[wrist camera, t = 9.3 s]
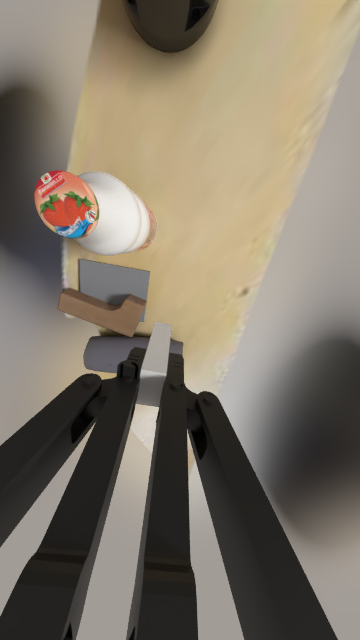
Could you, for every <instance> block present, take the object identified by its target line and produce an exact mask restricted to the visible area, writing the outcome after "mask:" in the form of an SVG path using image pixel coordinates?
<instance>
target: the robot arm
mask: <svg viewBox="0 0 360 640" xmlns="http://www.w3.org/2000/svg"><path fill="white" fill-rule="evenodd" d="M123 2H124V5H125V8H126V11H127V14H128V16H129V18H130V20H131V22H132V24H133V26H134V28H135V29H136V31H137V32H138V33H139V35H140V36H141V37H142V38H143V39H144V40H145V41H146V42H147V43H148V44H150V45H151V46H153V47H154V48H156V49H159V50H161V51H166V52H177V51H181V50H184V49H186V48H188V47H189V46H191V45H192V44H194V43H195V42H196V41H197V40H198V39H199V38H200V37H201V35H202V34H203V33H204V31H205V30H206V28H207V27H208V25H209V23H210V21H211V19H212V17H213V14H214V12H215V9H216V6H217V2H218V0H123ZM171 328H172V325H170V324H165V323H159V322H155V324H154V328H153V331H152V334H151V338H150V341H149V344H148V348H147V349H145V348H139V347H134V348H133V349H132V350H131V351H130V353H129V355H128V358H127V360H125V361H122V362H120V363H119V364H118V366H117V377H115V378H112V379H105V380H101V378H100V376H98V375H97V374H92V373H91V374H85V375H82V376H80V377H79V378H78V379H76V380H75V381H74V382H73V383H72V384H71V385H69V386H68V387H67V388H66V389H65V390H64V391H63V392H61V393H60V394H59V395H58V396H57V397H56V398H55V399H53V400H52V401H51V402H50V403H49V404H48V405H46V406H45V407H44V408H43V409H42V410H41V411H40V412H38V413H37V414H36V415H35V416H34V417H33V418H32V419H30V420H29V421H28V422H27V423H26V424H25V425H24V426H22V428H20V429H19V430H18V431H17V432H16V433H14V434H13V435H12V436H11V437H10V438H9V439H8V440H6V441H5V442H4V443H3V444H2V445H1V446H0V547H1V546H2V544H3V543H4V542H5V540H6V539H7V538H8V536H9V535H10V534H11V533H12V531H13V530H14V529H15V527H16V526H17V525H18V523H19V522H20V521H21V519H22V518H23V517H24V515H25V514H26V513H27V511H28V510H29V509H30V508H31V506H32V505H33V504H34V502H35V501H36V500H37V498H38V497H39V496H40V494H41V493H42V492H43V490H44V489H45V488H46V486H47V485H48V484H49V483H50V481H51V480H52V478H53V477H54V476H55V475H56V473H57V472H58V471H59V469H60V468H61V467H62V465H63V464H64V463H65V462H66V460H67V459H68V458H69V456H70V455H71V454H72V452H73V451H74V450H75V448H76V447H77V446H78V444H79V443H80V442H81V440H82V439H83V438H84V437H85V435H86V434H87V432H88V431H89V430H90V429H91V427H92V426H93V425H94V423H95V422H96V423H95V425H94V428H93V430H92V432H91V434H90V437H89V439H88V441H87V443H86V445H85V448H84V450H83V452H82V454H81V456H80V459H79V461H78V463H77V465H76V467H75V470H74V472H73V474H72V476H71V478H70V481H69V483H68V485H67V488H66V490H65V492H64V494H63V496H62V499H61V501H60V503H59V505H58V507H57V510H56V512H55V514H54V516H53V518H52V520H51V523H50V525H49V527H48V529H47V532H46V534H45V536H44V538H43V540H42V542H41V544H40V546H39V548H38V550H37V552H36V553H35V554H34V555H33V556H32V557H31V559H30V560H29V561H28V562H27V564H26V566H25V567H24V569H23V571H22V573H21V575H20V577H19V579H18V581H17V583H16V585H15V587H14V589H13V591H12V593H11V595H10V597H9V599H8V602H7V604H6V606H5V608H4V610H3V612H2V614H1V616H0V640H76V636H77V632H78V629H79V625H80V620H81V617H82V613H83V609H84V604H85V599H86V595H87V590H88V586H89V582H90V577H91V574H92V570H93V566H94V562H95V558H96V555H97V551H98V547H99V543H100V539H101V536H102V532H103V528H104V525H105V521H106V517H107V513H108V509H109V505H110V502H111V498H112V494H113V490H114V486H115V483H116V479H117V475H118V471H119V468H120V464H121V460H122V456H123V452H124V448H125V445H126V441H127V437H128V433H129V430H130V426H131V422H132V418H133V414H134V410H135V404H142V405H149V406H155V407H159V411H158V416H157V420H156V423H157V424H156V431H155V438H154V446H153V453H152V461H151V469H150V476H149V483H148V490H147V498H146V505H145V512H144V520H143V527H142V534H141V542H140V549H139V557H138V564H137V571H136V579H135V587H134V592H133V598H132V604H131V610H130V616H129V623H128V630H127V637H126V640H198V624H197V598H196V584H195V577H194V572H193V570H192V567H191V561H190V534H189V533H190V531H189V493H188V492H189V491H188V450H187V429H188V434H189V437H190V441H191V445H192V448H193V452H194V456H195V459H196V463H197V467H198V471H199V474H200V478H201V482H202V485H203V489H204V493H205V496H206V500H207V504H208V507H209V511H210V515H211V518H212V521H213V526H214V529H215V533H216V537H217V540H218V544H219V548H220V551H221V555H222V559H223V562H224V566H225V570H226V573H227V577H228V581H229V584H230V588H231V592H232V596H233V599H234V602H235V606H236V610H237V614H238V618H239V621H240V625H241V628H242V632H243V636H244V640H338V639H337V637H336V635H335V633H334V631H333V629H332V627H331V625H330V623H329V622H328V619H327V617H326V615H325V613H324V611H323V609H322V607H321V605H320V603H319V601H318V599H317V597H316V595H315V593H314V591H313V589H312V587H311V585H310V583H309V581H308V579H307V577H306V575H305V573H304V571H303V569H302V566H301V565H300V562H299V561H298V558H297V556H296V554H295V552H294V550H293V549H292V546H291V544H290V542H289V540H288V538H287V536H286V534H285V532H284V530H283V528H282V526H281V524H280V522H279V520H278V518H277V516H276V514H275V512H274V510H273V508H272V506H271V504H270V502H269V500H268V498H267V496H266V494H265V492H264V490H263V488H262V486H261V484H260V482H259V480H258V478H257V476H256V474H255V472H254V470H253V468H252V466H251V464H250V462H249V460H248V458H247V456H246V454H245V452H244V450H243V448H242V445H241V443H240V441H239V439H238V438H237V436H236V434H235V431H234V429H233V427H232V425H231V423H230V421H229V419H228V417H227V415H226V413H225V411H224V409H223V407H222V405H221V403H220V401H219V399H218V398H217V397H216V396H215V395H214V394H213V393H210V392H207V391H203V392H200V393H199V394H196V393H193V392H191V391H190V390H188V389H187V388H186V386H185V384H184V359H183V357H182V355H181V354H176V353H170V352H169V347H170V337H171Z"/></svg>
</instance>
